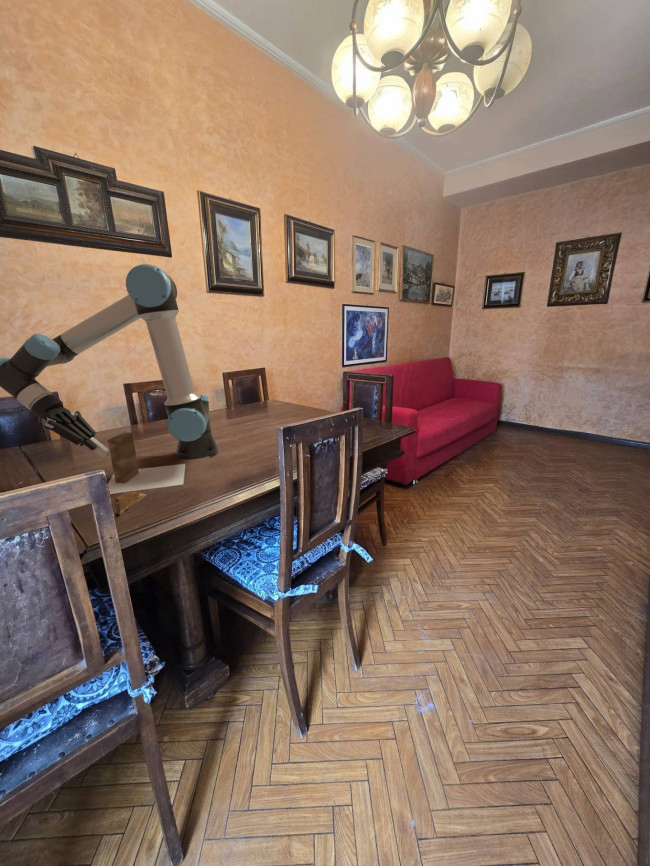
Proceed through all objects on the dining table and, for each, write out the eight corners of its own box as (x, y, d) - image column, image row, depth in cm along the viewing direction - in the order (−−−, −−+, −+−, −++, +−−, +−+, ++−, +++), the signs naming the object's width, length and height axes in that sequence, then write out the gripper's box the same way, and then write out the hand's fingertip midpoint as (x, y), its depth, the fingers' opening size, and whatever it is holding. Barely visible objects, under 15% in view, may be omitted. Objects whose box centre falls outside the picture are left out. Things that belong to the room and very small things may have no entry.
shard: (119, 517, 90) (118, 511, 90) (95, 514, 92) (94, 508, 91) (148, 498, 100) (148, 493, 100) (126, 496, 102) (125, 490, 102)
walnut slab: (115, 483, 108) (107, 440, 104) (130, 472, 115) (123, 432, 111) (125, 483, 108) (117, 440, 104) (139, 472, 115) (132, 432, 111)
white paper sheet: (185, 465, 123) (185, 463, 123) (183, 486, 107) (183, 484, 107) (115, 473, 116) (114, 471, 116) (101, 497, 100) (101, 495, 100)
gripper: (51, 406, 112) (112, 455, 116) (16, 415, 99) (85, 470, 104) (64, 389, 110) (125, 440, 115) (30, 397, 98) (99, 453, 102)
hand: (106, 454), depth 109 cm, fingers closed
